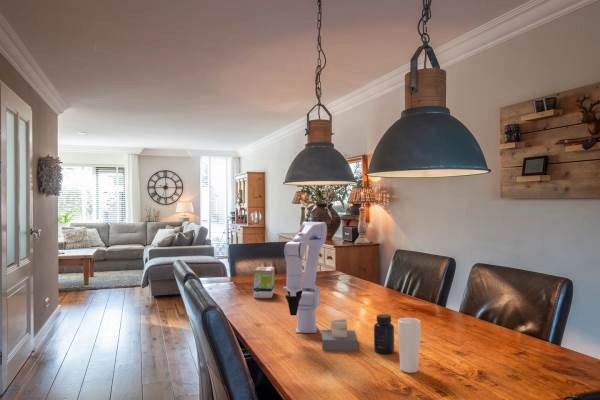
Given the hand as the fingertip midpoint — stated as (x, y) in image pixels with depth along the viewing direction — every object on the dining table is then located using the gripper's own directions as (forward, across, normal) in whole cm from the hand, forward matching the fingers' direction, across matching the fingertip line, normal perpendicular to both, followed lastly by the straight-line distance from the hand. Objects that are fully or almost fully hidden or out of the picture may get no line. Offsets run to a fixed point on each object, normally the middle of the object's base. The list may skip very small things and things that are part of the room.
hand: (294, 312), depth 161 cm
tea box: (+10, -80, -21) cm, 84 cm away
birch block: (+7, +3, +16) cm, 18 cm away
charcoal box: (+11, +2, +16) cm, 20 cm away
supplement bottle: (+11, +8, +31) cm, 34 cm away
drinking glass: (+11, +26, +36) cm, 46 cm away
